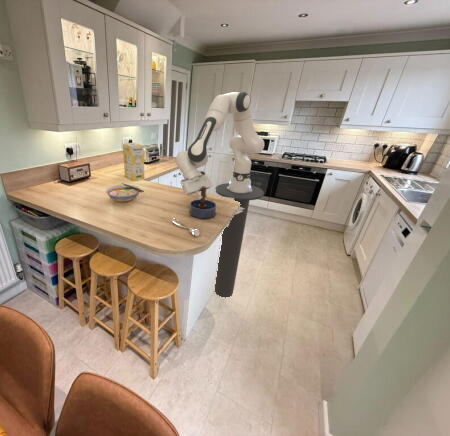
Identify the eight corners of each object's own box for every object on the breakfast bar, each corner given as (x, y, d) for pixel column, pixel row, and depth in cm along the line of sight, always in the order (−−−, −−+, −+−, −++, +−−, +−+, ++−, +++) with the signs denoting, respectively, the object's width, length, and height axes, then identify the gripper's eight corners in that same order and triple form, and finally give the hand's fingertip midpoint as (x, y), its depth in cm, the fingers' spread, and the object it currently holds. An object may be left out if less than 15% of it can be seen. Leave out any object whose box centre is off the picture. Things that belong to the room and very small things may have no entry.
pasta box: (144, 179, 201) (143, 145, 189) (133, 180, 196) (131, 146, 184) (135, 174, 215) (133, 142, 203) (124, 175, 210) (122, 143, 198)
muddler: (199, 207, 139) (201, 185, 132) (206, 209, 137) (208, 186, 131) (197, 210, 135) (198, 187, 129) (204, 211, 133) (206, 188, 127)
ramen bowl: (100, 198, 159) (98, 187, 155) (128, 191, 172) (127, 180, 169) (118, 210, 142) (117, 197, 138) (148, 201, 155) (148, 189, 151)
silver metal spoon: (169, 216, 126) (176, 213, 128) (169, 221, 127) (175, 219, 130) (194, 232, 112) (201, 230, 114) (194, 239, 114) (201, 236, 116)
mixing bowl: (193, 206, 147) (194, 198, 144) (217, 211, 141) (218, 201, 139) (185, 216, 135) (186, 206, 132) (211, 221, 129) (212, 211, 126)
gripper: (182, 177, 126) (194, 199, 124) (207, 171, 138) (218, 191, 135) (176, 183, 131) (187, 204, 129) (200, 177, 143) (211, 196, 140)
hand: (203, 197), depth 132 cm, fingers closed on muddler, 2 cm apart
